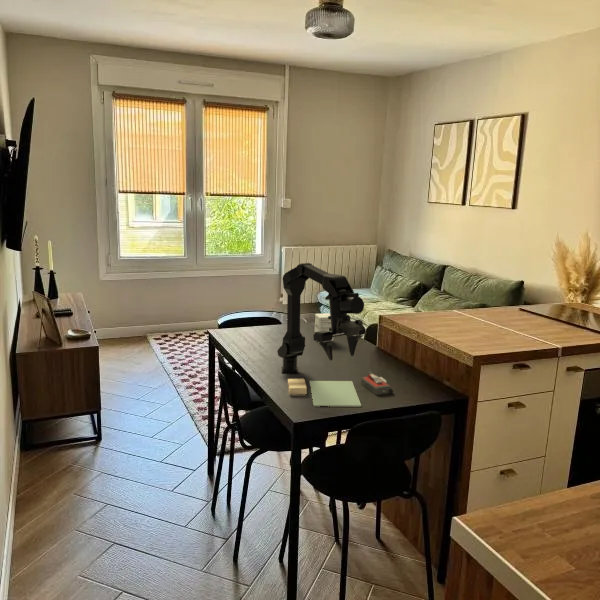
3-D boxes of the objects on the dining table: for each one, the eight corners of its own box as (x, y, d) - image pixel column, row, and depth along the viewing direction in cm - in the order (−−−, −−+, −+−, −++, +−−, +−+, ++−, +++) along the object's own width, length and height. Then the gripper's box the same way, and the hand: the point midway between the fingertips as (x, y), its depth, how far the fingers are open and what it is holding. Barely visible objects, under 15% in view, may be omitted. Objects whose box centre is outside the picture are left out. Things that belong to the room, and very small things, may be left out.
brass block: (287, 386, 196) (287, 378, 196) (303, 386, 197) (304, 378, 196) (289, 396, 188) (289, 388, 187) (306, 396, 188) (306, 388, 188)
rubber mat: (309, 382, 200) (309, 380, 200) (352, 382, 201) (352, 381, 201) (313, 406, 179) (313, 405, 179) (361, 406, 180) (361, 405, 179)
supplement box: (313, 339, 254) (314, 313, 251) (328, 338, 256) (329, 312, 253) (318, 344, 247) (319, 317, 244) (333, 343, 249) (334, 316, 246)
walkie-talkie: (398, 394, 192) (371, 375, 210) (399, 382, 191) (371, 364, 209) (376, 397, 189) (351, 377, 207) (377, 385, 188) (351, 366, 206)
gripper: (330, 317, 171) (334, 365, 172) (374, 310, 181) (378, 356, 182) (310, 315, 180) (314, 361, 181) (353, 309, 190) (357, 352, 191)
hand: (341, 358), depth 184 cm, fingers open, 9 cm apart
